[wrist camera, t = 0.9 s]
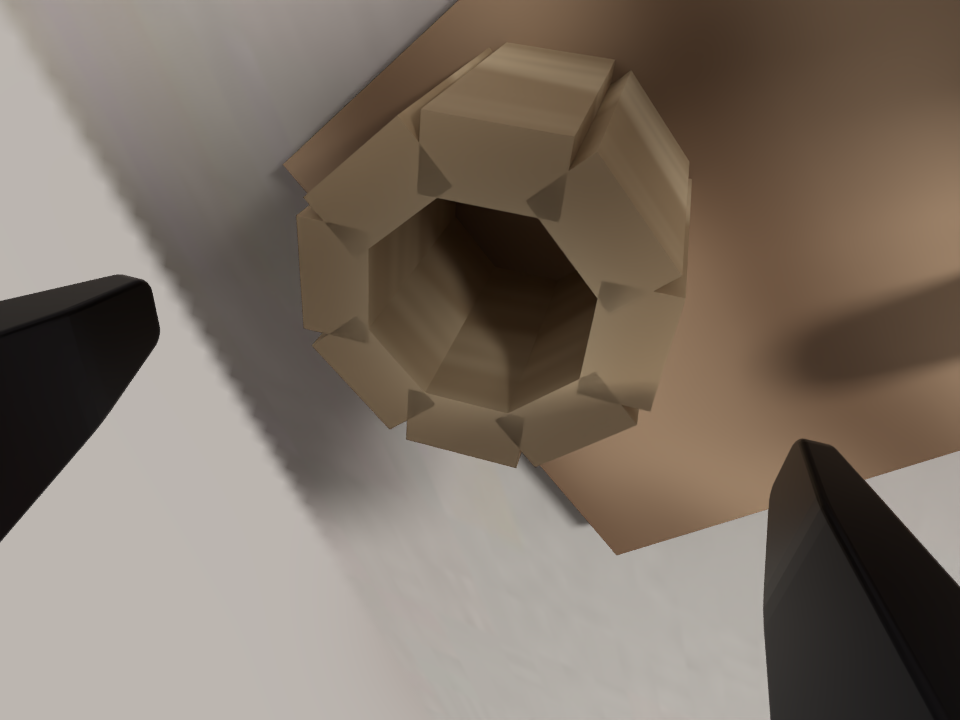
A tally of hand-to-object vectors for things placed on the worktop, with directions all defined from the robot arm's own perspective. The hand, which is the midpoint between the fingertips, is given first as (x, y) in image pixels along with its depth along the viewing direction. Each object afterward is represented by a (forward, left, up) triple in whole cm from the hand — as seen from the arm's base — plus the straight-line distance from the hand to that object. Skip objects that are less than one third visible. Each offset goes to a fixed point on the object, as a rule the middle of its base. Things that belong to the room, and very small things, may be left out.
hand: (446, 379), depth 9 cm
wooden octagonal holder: (0, 0, -7) cm, 7 cm away
